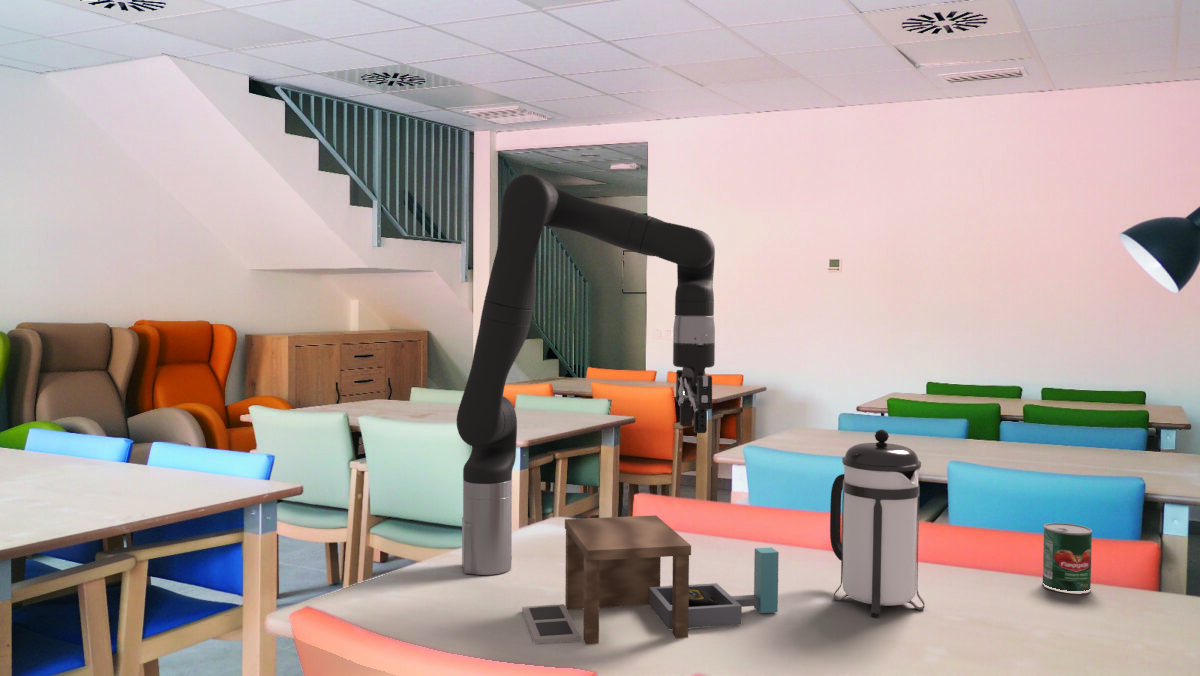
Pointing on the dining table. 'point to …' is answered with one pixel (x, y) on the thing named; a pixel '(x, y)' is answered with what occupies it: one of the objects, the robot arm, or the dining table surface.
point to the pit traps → (550, 624)
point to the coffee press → (877, 523)
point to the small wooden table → (623, 567)
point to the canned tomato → (1067, 556)
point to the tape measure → (700, 598)
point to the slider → (725, 596)
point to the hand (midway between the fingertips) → (692, 429)
